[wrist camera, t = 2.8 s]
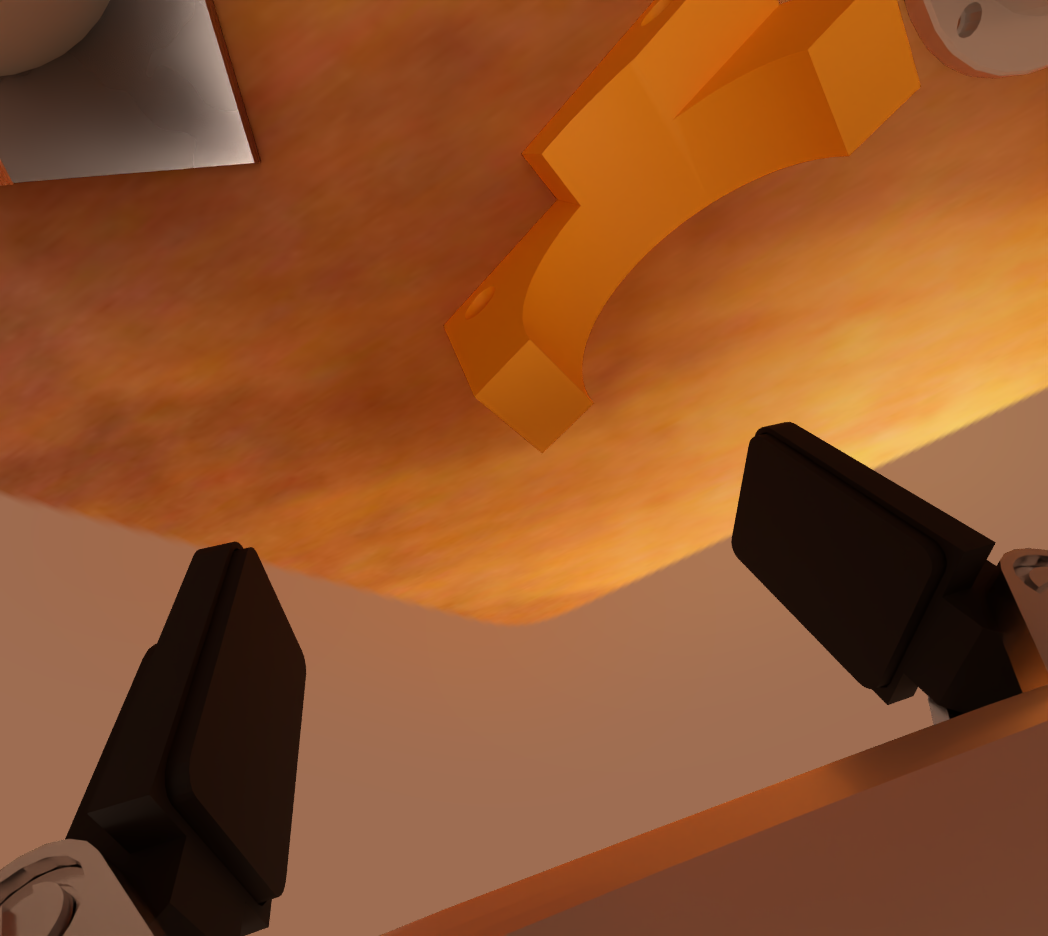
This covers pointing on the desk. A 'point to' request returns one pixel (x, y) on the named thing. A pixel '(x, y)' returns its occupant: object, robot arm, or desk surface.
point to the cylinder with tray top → (116, 89)
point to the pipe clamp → (666, 170)
